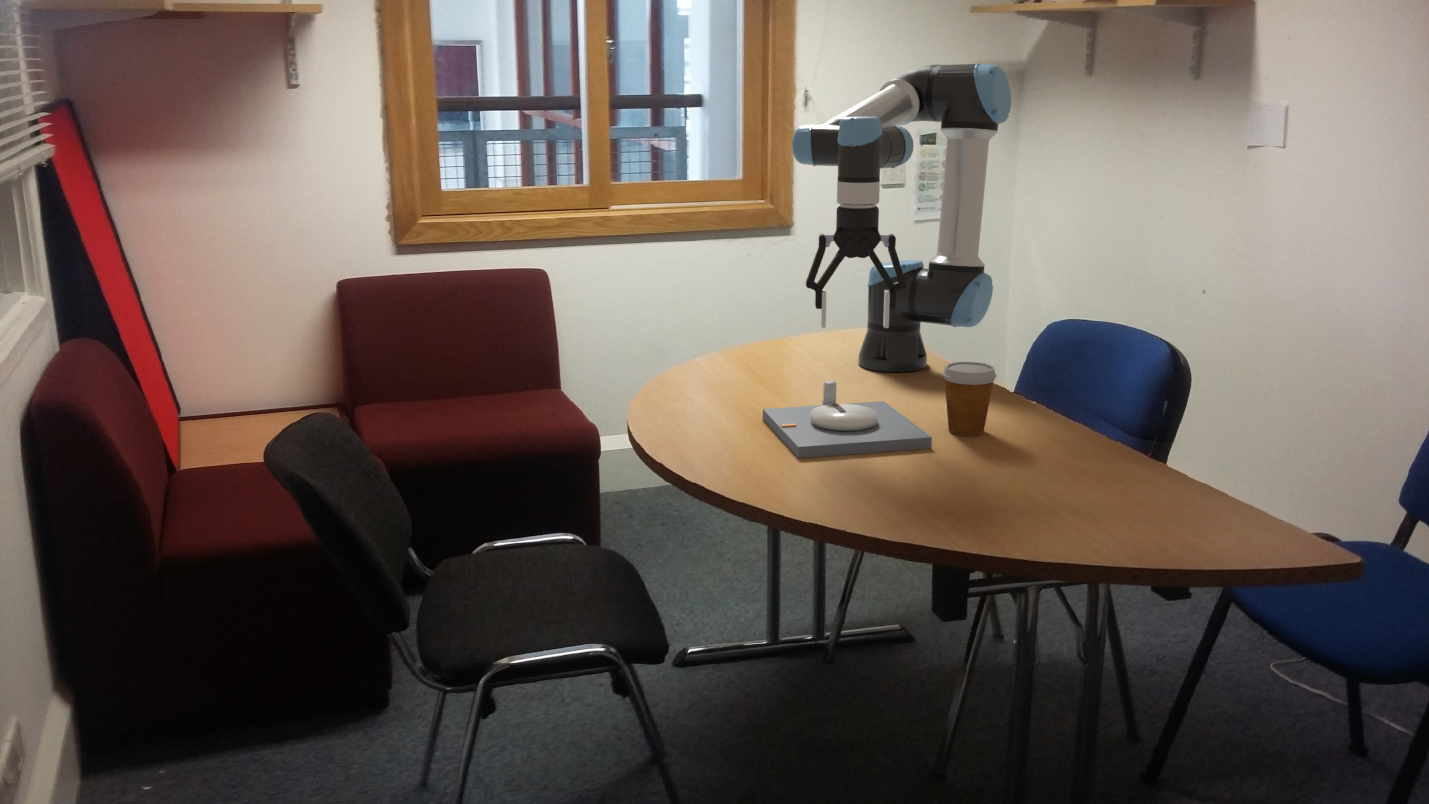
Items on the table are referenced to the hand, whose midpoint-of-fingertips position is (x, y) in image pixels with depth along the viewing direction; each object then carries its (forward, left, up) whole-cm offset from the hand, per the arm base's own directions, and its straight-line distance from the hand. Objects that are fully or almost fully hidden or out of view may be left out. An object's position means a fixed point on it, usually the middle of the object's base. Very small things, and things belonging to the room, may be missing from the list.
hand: (854, 326), depth 214 cm
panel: (+4, +7, -18) cm, 20 cm away
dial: (+4, +5, -16) cm, 17 cm away
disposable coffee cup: (-18, +11, -18) cm, 28 cm away
